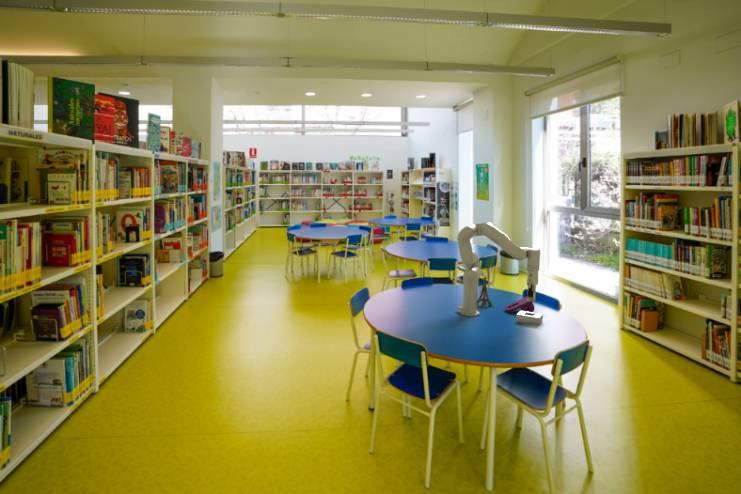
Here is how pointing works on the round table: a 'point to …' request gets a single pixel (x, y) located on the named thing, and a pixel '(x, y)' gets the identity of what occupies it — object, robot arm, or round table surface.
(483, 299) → the eiffel tower
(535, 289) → the wedge pin
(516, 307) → the maroon shoe
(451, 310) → the round table surface
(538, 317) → the collar block
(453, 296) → the round table surface
